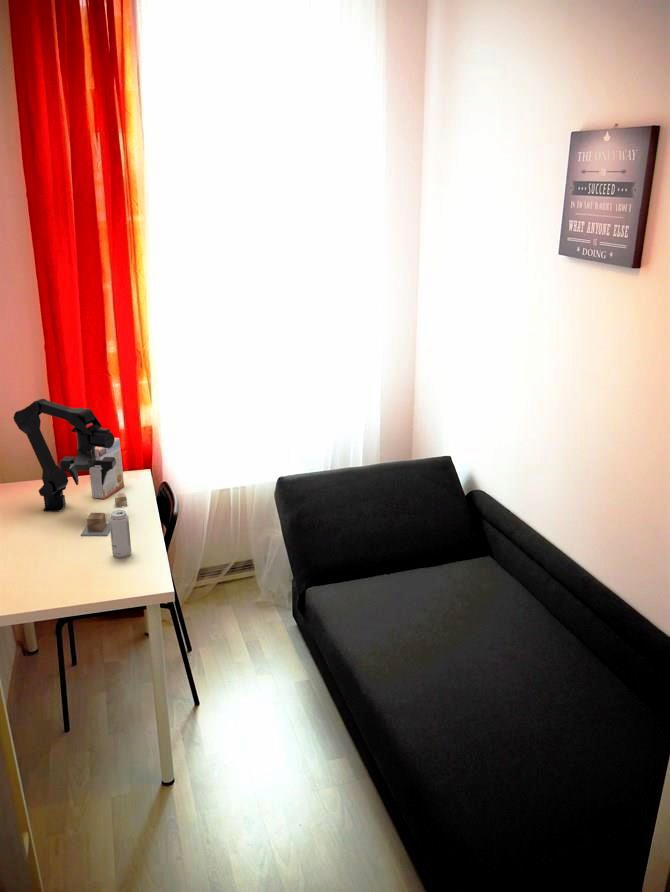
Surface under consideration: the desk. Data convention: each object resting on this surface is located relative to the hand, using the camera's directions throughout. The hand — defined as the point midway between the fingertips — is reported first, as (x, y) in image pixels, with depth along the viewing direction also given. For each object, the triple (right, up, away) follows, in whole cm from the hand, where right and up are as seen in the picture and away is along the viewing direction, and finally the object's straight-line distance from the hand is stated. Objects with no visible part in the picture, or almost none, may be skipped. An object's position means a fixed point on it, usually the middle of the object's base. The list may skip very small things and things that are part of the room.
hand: (90, 484), depth 271 cm
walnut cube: (+5, -15, -8) cm, 18 cm away
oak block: (+8, -8, +13) cm, 17 cm away
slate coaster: (+5, -16, -8) cm, 18 cm away
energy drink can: (+19, -22, -24) cm, 38 cm away
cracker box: (-1, -4, +24) cm, 24 cm away
